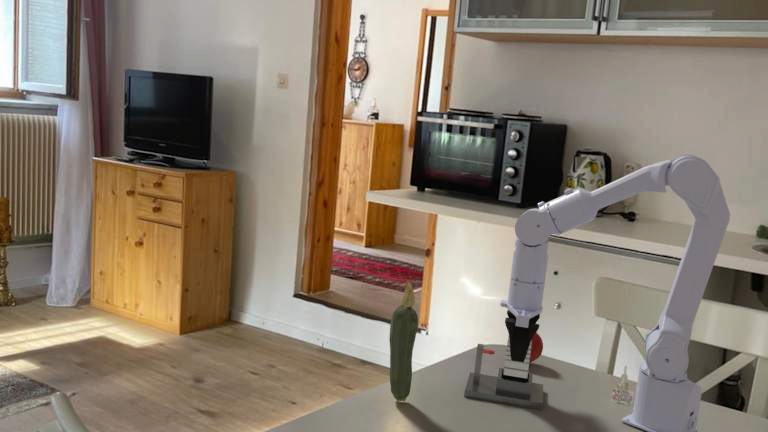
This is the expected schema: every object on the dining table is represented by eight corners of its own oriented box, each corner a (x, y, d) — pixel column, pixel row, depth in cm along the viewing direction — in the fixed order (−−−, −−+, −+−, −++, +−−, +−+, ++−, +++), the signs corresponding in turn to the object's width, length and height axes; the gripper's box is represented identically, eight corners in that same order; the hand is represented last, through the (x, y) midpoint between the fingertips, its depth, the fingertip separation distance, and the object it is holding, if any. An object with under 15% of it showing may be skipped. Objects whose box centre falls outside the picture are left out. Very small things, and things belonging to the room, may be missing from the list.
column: (527, 370, 129) (531, 339, 128) (527, 378, 125) (531, 346, 124) (504, 367, 129) (508, 335, 129) (503, 374, 126) (507, 342, 125)
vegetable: (406, 410, 117) (419, 287, 114) (380, 405, 118) (392, 284, 115) (411, 400, 121) (424, 281, 118) (385, 395, 122) (397, 278, 119)
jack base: (542, 390, 131) (548, 347, 130) (541, 410, 122) (548, 363, 121) (469, 378, 134) (474, 336, 132) (464, 396, 125) (469, 351, 124)
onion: (508, 365, 143) (513, 325, 142) (512, 357, 148) (517, 318, 147) (539, 371, 141) (544, 331, 140) (541, 362, 147) (546, 323, 145)
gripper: (506, 268, 133) (497, 340, 135) (501, 285, 118) (491, 366, 120) (546, 273, 131) (536, 346, 133) (546, 291, 117) (535, 373, 119)
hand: (517, 356), depth 127 cm, fingers closed on column, 4 cm apart
